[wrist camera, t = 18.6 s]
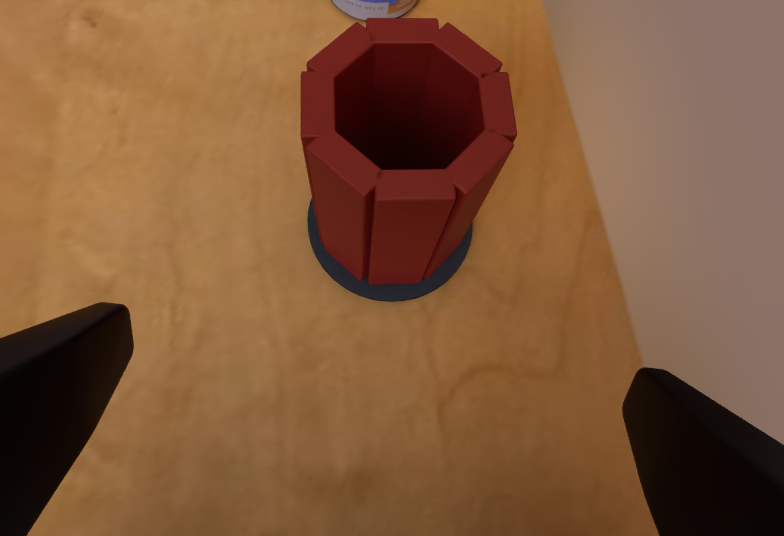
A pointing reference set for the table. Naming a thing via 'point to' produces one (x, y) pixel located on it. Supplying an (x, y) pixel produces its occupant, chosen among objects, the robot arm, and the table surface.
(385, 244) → the red octagonal container
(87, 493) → the table surface
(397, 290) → the mat
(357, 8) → the pill bottle
